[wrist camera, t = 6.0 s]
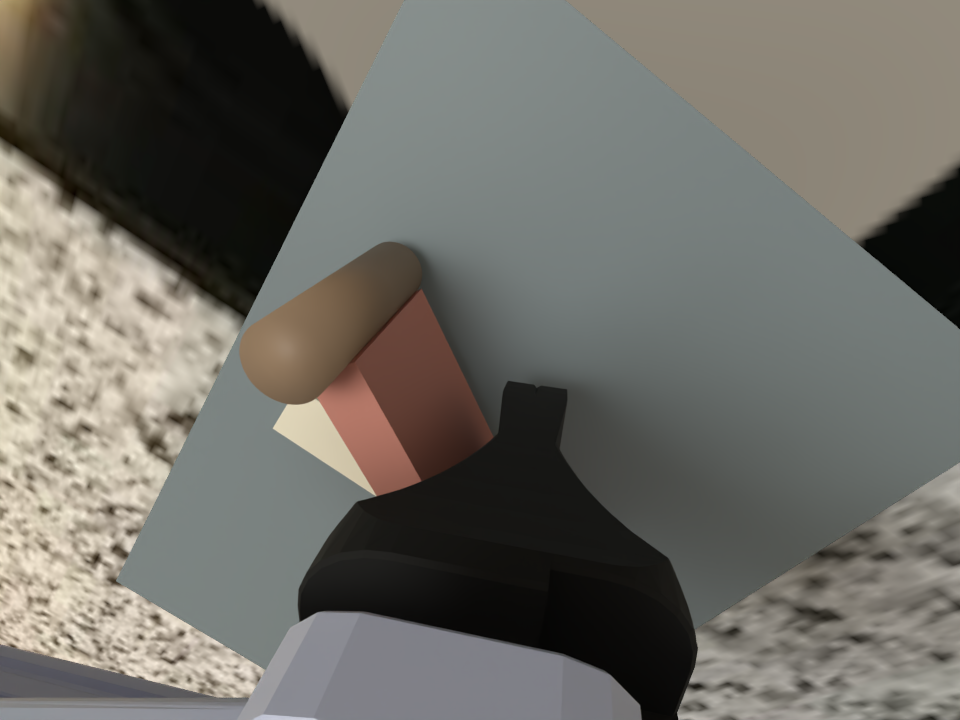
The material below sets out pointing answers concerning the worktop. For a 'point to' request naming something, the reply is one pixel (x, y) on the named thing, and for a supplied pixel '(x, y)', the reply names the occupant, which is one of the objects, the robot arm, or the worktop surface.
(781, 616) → the worktop surface
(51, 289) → the worktop surface
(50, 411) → the worktop surface
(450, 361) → the gate panel
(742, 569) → the card
